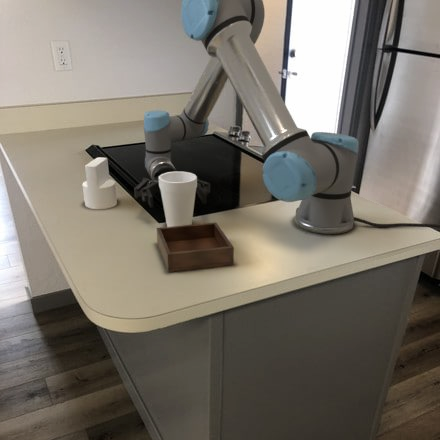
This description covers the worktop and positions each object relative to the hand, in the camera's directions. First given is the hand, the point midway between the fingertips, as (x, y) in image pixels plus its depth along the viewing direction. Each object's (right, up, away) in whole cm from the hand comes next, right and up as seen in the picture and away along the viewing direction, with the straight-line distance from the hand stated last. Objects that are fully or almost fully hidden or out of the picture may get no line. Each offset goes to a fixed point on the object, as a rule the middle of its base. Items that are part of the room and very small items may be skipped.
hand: (178, 200), depth 122 cm
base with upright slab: (-24, +2, +17) cm, 30 cm away
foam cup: (0, -6, +4) cm, 7 cm away
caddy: (+4, -14, -10) cm, 18 cm away
